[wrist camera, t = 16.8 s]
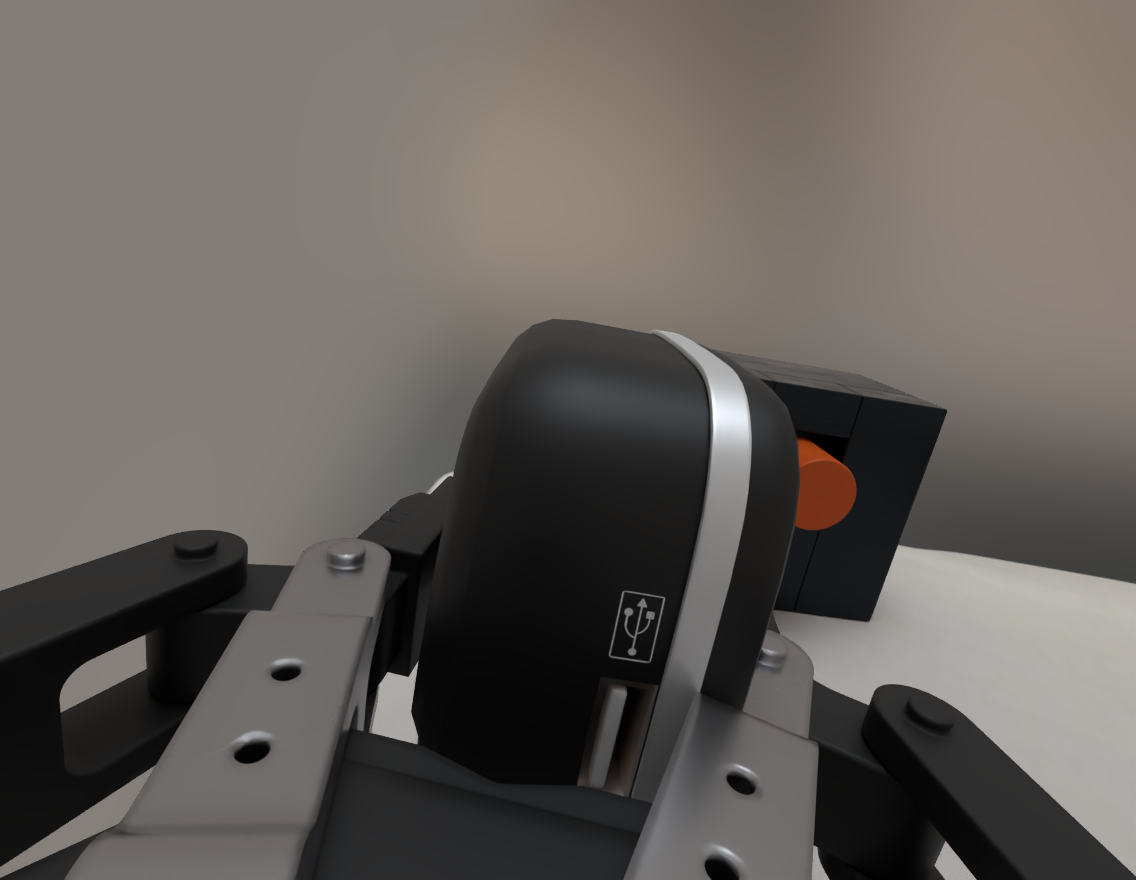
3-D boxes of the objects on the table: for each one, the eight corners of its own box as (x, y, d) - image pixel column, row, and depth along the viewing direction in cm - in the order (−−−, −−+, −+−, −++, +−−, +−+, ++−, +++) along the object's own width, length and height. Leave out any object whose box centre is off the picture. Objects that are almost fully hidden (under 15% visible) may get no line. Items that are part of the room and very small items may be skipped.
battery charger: (438, 755, 15) (507, 293, 12) (588, 775, 15) (694, 328, 12) (339, 1149, 8) (437, 335, 5) (607, 1175, 9) (859, 411, 5)
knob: (843, 535, 25) (867, 465, 24) (771, 525, 25) (792, 453, 24) (809, 502, 29) (828, 439, 28) (744, 493, 28) (762, 429, 28)
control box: (870, 622, 30) (949, 409, 27) (634, 591, 29) (686, 366, 26) (804, 546, 37) (858, 374, 34) (615, 519, 36) (653, 339, 33)
